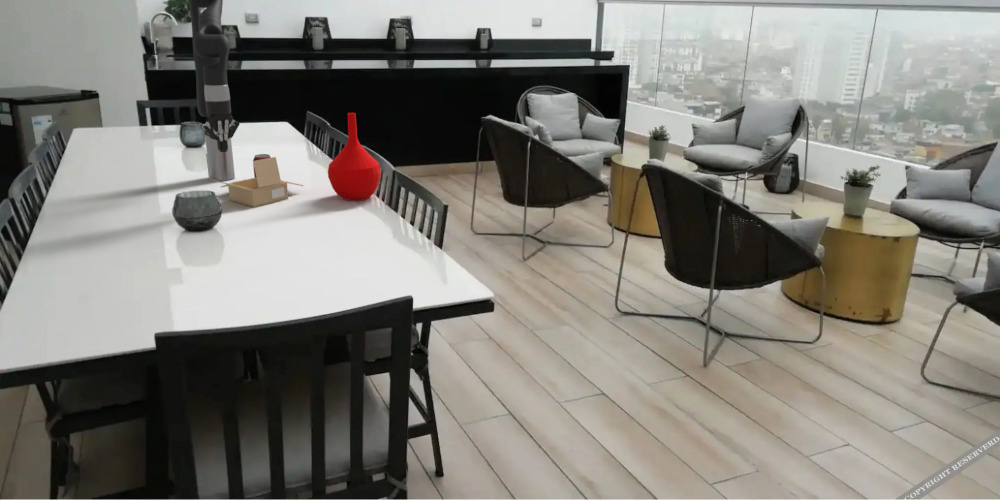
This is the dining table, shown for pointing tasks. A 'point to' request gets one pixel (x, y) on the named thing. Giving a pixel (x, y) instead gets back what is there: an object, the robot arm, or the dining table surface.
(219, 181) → the right flap
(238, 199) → the carton
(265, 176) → the front flap
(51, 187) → the dining table surface
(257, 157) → the beverage can
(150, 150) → the dining table surface
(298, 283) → the dining table surface
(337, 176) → the vase
